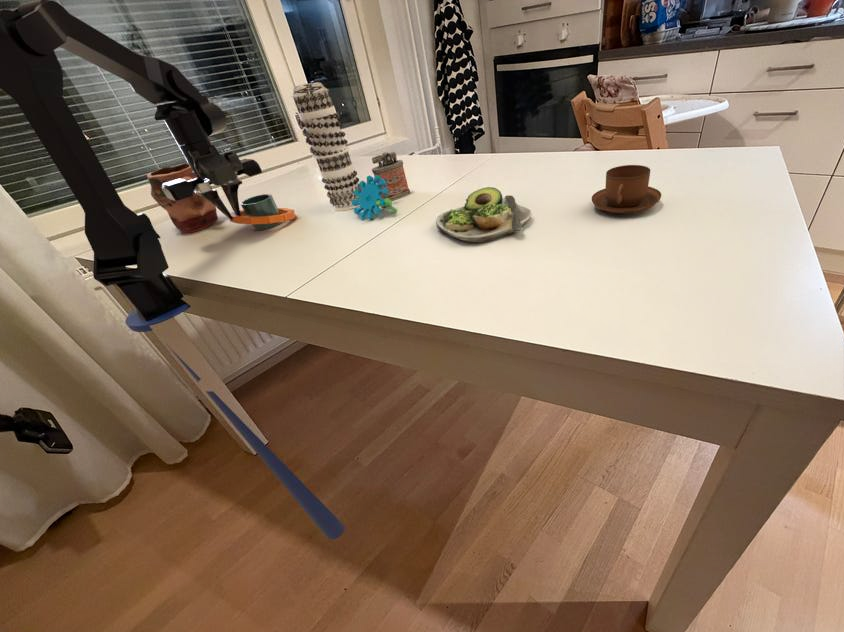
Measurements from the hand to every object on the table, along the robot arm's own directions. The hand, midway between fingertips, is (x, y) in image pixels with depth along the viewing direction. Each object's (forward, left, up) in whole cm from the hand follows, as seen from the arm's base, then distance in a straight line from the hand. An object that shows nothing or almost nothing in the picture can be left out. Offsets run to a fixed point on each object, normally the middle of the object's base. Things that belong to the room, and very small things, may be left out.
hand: (235, 218), depth 89 cm
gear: (+21, -24, -4) cm, 32 cm away
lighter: (+31, -19, -4) cm, 37 cm away
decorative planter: (-2, +20, -4) cm, 21 cm away
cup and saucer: (+42, -73, -4) cm, 84 cm away
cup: (+6, 0, -4) cm, 7 cm away
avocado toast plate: (+26, -52, -4) cm, 58 cm away
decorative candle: (+23, -10, -4) cm, 26 cm away
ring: (+6, 0, -2) cm, 6 cm away
